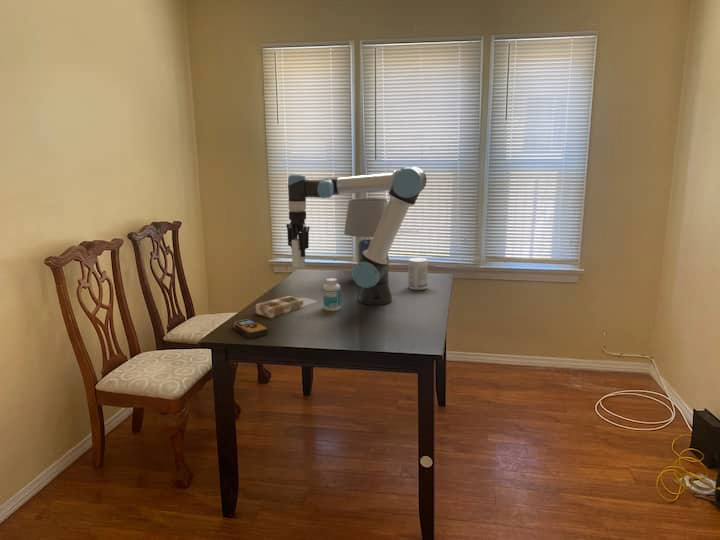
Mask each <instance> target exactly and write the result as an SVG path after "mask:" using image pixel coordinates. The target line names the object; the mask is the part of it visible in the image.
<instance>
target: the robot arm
mask: <svg viewBox="0 0 720 540" xmlns="http://www.w3.org/2000/svg"><path fill="white" fill-rule="evenodd" d="M287 179H288V180H287V189H288V191H287V193H288V194H287V195H288V196H287V197H288V210H289V211H288V219H289V220H290V223H286V224H285V225H286V229H287V246H288V247H290V248H291V249H292V240H294V239H295V238H298V239H299V245H300V249H299V264H305V265H306V249H309V248H310V247H309V245H310V242H309V241H310V240H309V239H310V237H309V236H310V235H309V234H310V233H309V231H310V226H307V225H306V223H305V221H306V219H307V211H306V210H307V204H306V203H307V202H306V201H307V198H316V199H317V198H319V199H330V198H332V197H333V196H336V195H346V194H347V195H348V194H361V193H362V194H363V193H373V192H374V193H376V192H388V195H389V196H388V197H389V200H388V205H387V207H386V209H385V211H384V214H383V216H382V218H381V220H380V223H379V225H378V227H377V229H376V232H375V234H374V236H373V237H371V239H372V241H371V243H370V245H369V247H368V249H367V250H365V251H363V252H362V255H361V257H360V259H359V261H358V260H357V263H356V264H355V265H354V266H353V269H352V271H351V272H352V273H351V274H352V278H353V281H354V282H355V284H357V286H359V287H361V289H360V291H359V292H360V293H359V297H358V300H359V301H360V303H362V304H365V305H374V306H378V305H379V306H380V305H386V304H389V303H392V301H393V295H392V292H391V290H390V287H389V261H390V260H389V252H390V249H391V247H392V246H393V243H394V241H395V239H396V237H397V234H398V232H399V230H400V228H401V225H402V224H403V222H404V219H405V216H406V214H407V213H408V210H409V208H410V207H413V206H414V205H415V203H416V202H417V200H418V197H419V196H420V194H421V192H422V191H423V190H424V189H425V187H426V185H427V181H428V179H427V175H426V173H425V171H424V170H423V169H421V168H420V167H418V166H414V165H413V166H405V167H402V168H401V169H395V170H394V171H393V172H386V173H373V174H363V175H353V176H352V175H351V176H340V177H326V178H323V179H307V178H306V174H305V175H304V174H290V175H289V176H288V178H287ZM302 246H303V247H302Z"/></svg>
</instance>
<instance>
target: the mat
mask: <svg viewBox="0 0 720 540" xmlns="http://www.w3.org/2000/svg"><path fill="white" fill-rule="evenodd" d="M300 299H302V300H303V307H305V306H308V305H313V304H316V303H319V301H317V300H315V299H311V298H308V297H302V298H300Z"/></svg>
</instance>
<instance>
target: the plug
mask: <svg viewBox="0 0 720 540" xmlns="http://www.w3.org/2000/svg"><path fill="white" fill-rule="evenodd" d="M302 247H303V246H302ZM299 249H300V245H299V239H298V238H295V239H294V240H292V248H291V261H292V262H291V267H294V268H296V269H297V268H298V269H300V268H305V267H306V263H305V264H299Z"/></svg>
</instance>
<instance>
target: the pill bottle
mask: <svg viewBox="0 0 720 540" xmlns="http://www.w3.org/2000/svg"><path fill="white" fill-rule="evenodd" d="M325 282H326V283H324V285H323V287H322V288H323V310H325V311H330V312H331V311H332V312H337V311H340V310H341V307H342V306H341V305H342V303H341V300H342V299H341V285H340V284H339V283H338V279H337V278H333V277H331V278H326V279H325Z"/></svg>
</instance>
